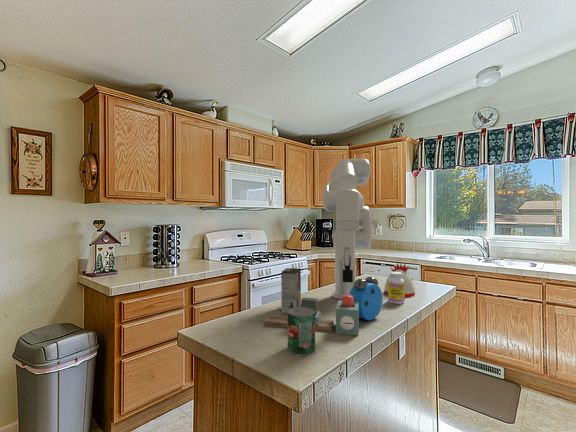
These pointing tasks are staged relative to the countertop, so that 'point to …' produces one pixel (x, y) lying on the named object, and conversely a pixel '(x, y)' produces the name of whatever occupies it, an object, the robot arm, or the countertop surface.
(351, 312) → the cabinet
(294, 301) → the coffee box
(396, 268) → the kitchen timer
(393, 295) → the supplement bottle
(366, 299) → the alarm clock
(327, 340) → the countertop surface
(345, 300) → the plunger
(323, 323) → the rail plank
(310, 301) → the carriage
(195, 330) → the countertop surface
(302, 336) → the canned tomato
